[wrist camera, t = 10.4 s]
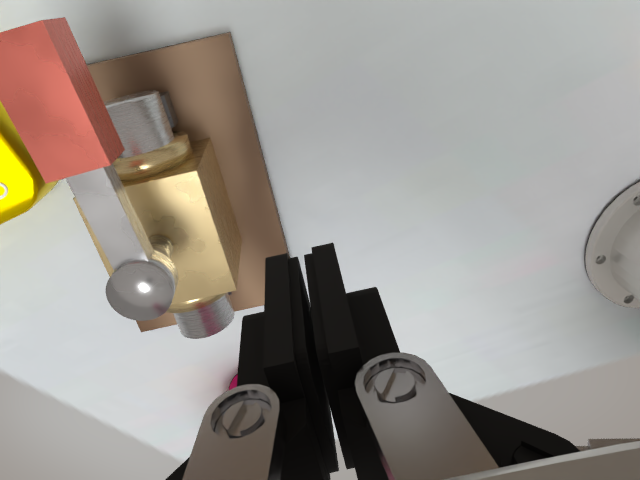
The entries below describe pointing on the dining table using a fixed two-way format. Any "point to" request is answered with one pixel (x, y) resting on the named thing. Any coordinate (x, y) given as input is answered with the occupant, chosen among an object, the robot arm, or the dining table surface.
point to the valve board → (226, 136)
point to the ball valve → (178, 209)
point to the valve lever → (82, 157)
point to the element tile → (17, 173)
